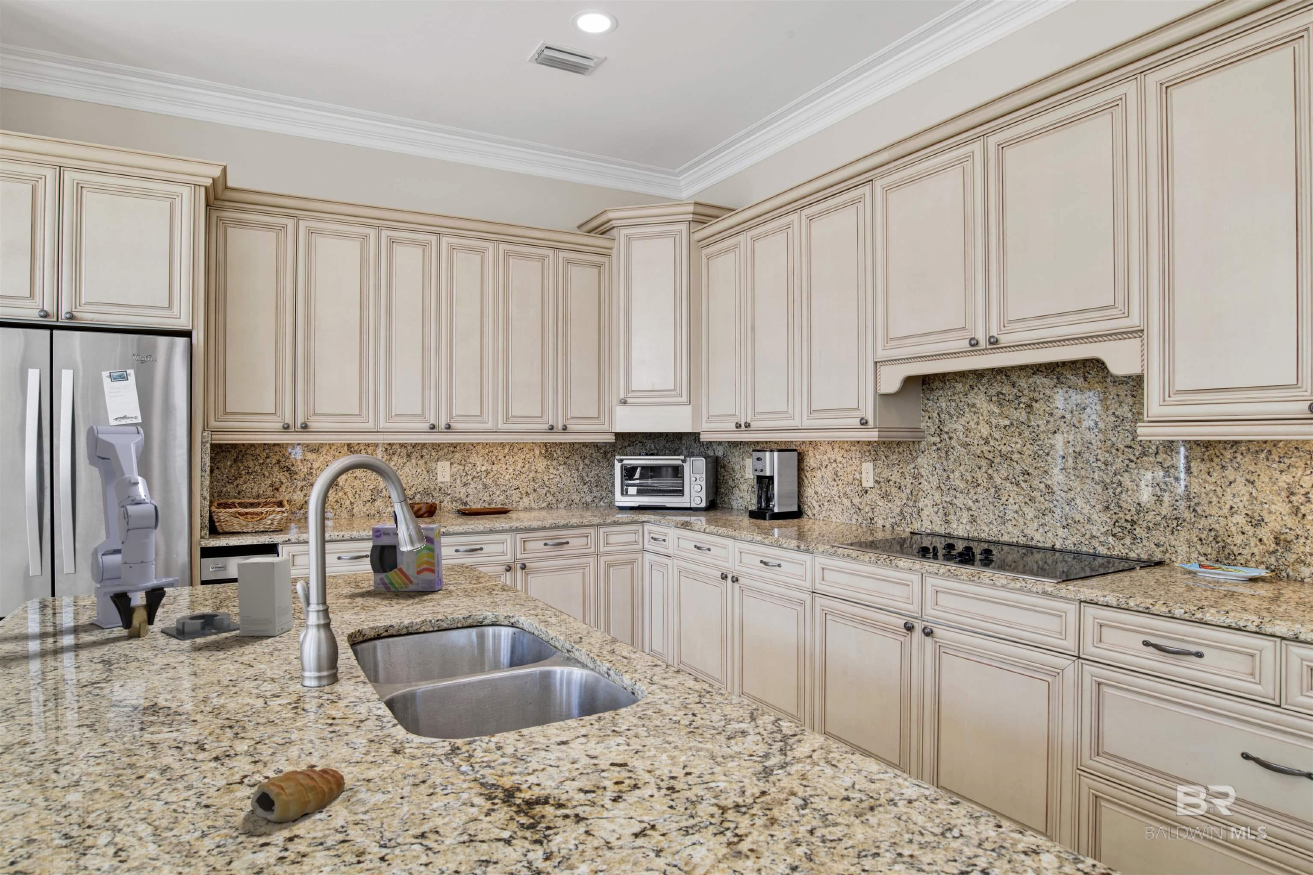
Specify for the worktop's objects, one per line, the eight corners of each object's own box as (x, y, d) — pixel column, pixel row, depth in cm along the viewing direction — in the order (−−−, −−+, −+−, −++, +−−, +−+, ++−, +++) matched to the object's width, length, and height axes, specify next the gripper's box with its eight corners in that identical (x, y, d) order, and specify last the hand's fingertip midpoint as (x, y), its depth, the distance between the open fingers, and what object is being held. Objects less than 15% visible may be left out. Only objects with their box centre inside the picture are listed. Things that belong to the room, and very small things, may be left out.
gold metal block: (125, 634, 154) (125, 605, 154) (145, 631, 156) (145, 602, 156) (133, 638, 151) (133, 609, 151) (153, 634, 153) (153, 606, 154)
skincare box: (293, 629, 158) (293, 556, 158) (274, 637, 152) (274, 561, 152) (256, 628, 159) (256, 555, 159) (236, 636, 152) (236, 560, 152)
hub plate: (161, 630, 157) (161, 618, 157) (222, 619, 166) (222, 607, 166) (183, 640, 149) (183, 626, 149) (245, 628, 159) (245, 615, 159)
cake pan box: (368, 590, 199) (368, 525, 199) (378, 586, 204) (378, 522, 204) (435, 593, 196) (435, 526, 196) (443, 589, 201) (443, 524, 201)
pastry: (323, 780, 89) (323, 748, 89) (359, 795, 85) (359, 762, 85) (244, 813, 81) (245, 778, 81) (280, 831, 77) (280, 795, 77)
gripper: (102, 568, 146) (102, 637, 146) (184, 558, 157) (184, 622, 157) (91, 564, 150) (91, 631, 150) (172, 555, 162) (172, 617, 162)
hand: (138, 626), depth 154 cm, fingers closed on gold metal block, 4 cm apart
